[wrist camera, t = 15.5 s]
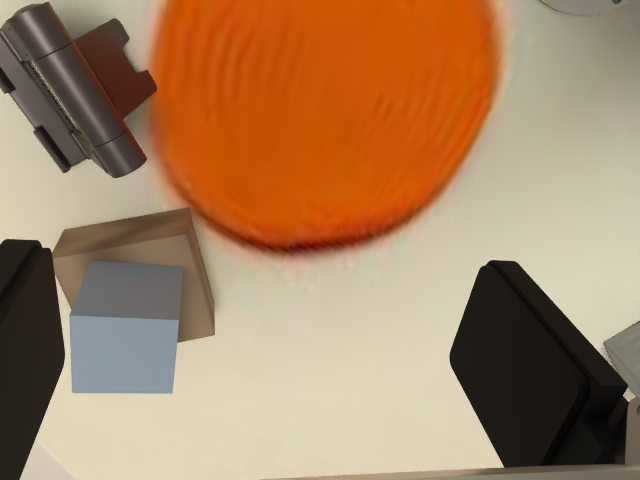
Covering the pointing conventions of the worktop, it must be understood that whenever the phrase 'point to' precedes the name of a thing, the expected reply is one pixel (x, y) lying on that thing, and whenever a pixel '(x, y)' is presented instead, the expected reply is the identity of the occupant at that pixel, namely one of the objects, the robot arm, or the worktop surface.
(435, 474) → the robot arm
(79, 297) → the slate cube
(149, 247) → the walnut block
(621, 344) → the skincare box
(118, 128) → the portable electronic device stand
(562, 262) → the worktop surface
